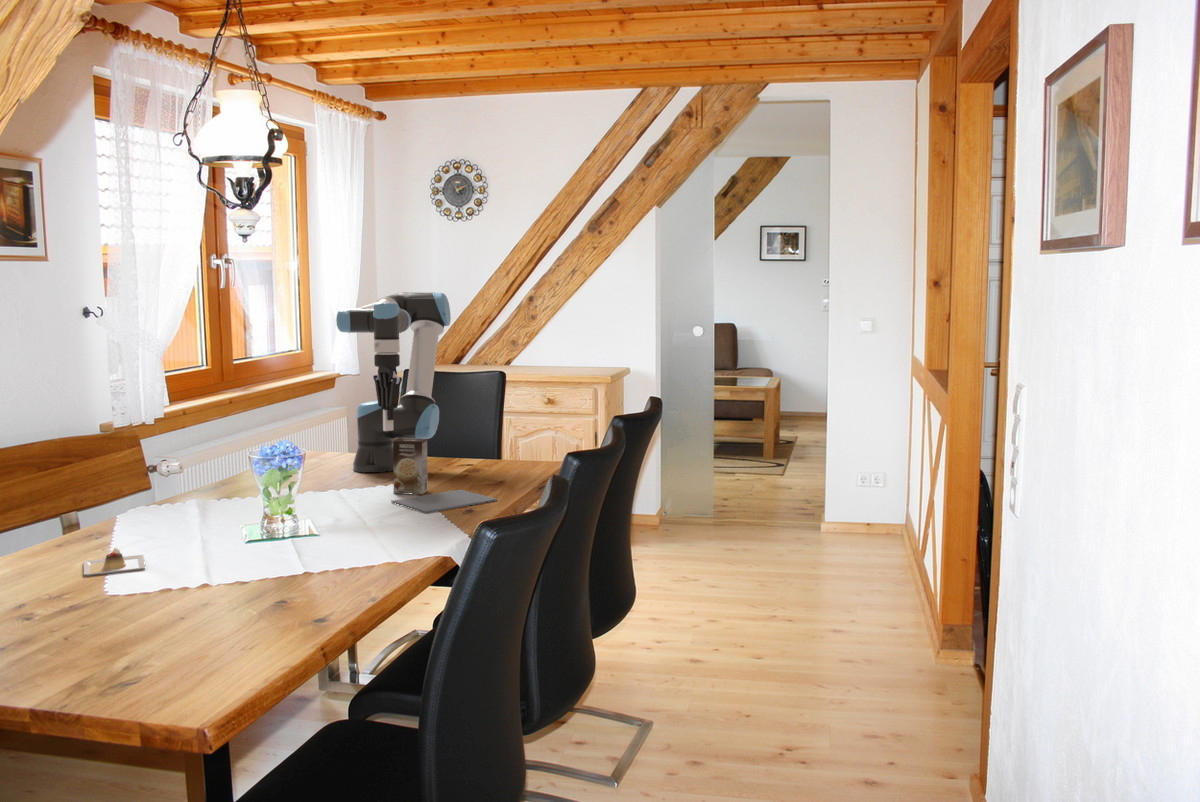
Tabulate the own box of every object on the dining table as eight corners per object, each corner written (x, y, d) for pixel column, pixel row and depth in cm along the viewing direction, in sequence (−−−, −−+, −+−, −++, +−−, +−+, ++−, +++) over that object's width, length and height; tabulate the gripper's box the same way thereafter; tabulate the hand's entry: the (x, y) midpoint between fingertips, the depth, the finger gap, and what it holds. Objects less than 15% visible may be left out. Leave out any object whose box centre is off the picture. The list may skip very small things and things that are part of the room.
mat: (391, 502, 282) (391, 500, 282) (461, 491, 298) (461, 489, 298) (425, 513, 269) (425, 511, 268) (497, 501, 285) (497, 498, 285)
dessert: (83, 579, 209) (82, 557, 208) (83, 565, 219) (82, 544, 219) (146, 572, 214) (145, 550, 214) (143, 559, 225) (142, 538, 224)
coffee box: (392, 494, 294) (391, 440, 292) (399, 490, 300) (397, 437, 298) (422, 495, 293) (421, 441, 291) (428, 490, 299) (427, 438, 297)
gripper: (365, 353, 303) (366, 429, 305) (387, 354, 293) (388, 433, 296) (386, 352, 308) (388, 427, 310) (409, 354, 298) (410, 431, 301)
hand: (388, 430), depth 303 cm, fingers closed
